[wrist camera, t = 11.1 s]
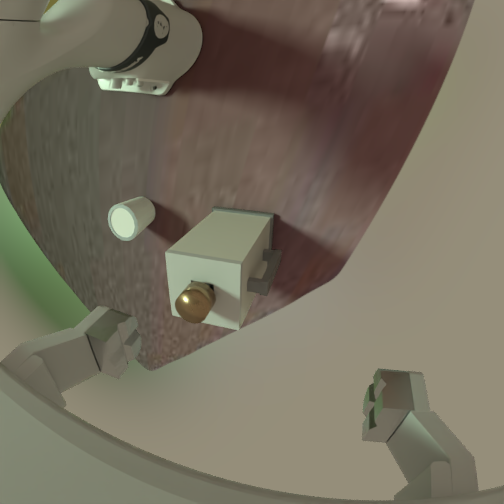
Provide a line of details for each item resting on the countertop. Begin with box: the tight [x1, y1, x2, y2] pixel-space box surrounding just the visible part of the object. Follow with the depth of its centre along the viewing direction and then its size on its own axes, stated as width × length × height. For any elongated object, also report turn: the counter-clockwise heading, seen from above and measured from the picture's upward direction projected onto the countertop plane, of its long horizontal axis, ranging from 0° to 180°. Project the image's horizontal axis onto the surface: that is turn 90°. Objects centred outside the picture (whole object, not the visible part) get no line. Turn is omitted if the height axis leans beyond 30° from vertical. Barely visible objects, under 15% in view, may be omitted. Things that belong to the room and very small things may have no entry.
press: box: [165, 207, 282, 330], centre depth 45 cm, size 13×10×18 cm
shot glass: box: [108, 197, 155, 241], centre depth 53 cm, size 7×7×7 cm
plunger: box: [175, 281, 216, 323], centre depth 43 cm, size 7×7×20 cm
